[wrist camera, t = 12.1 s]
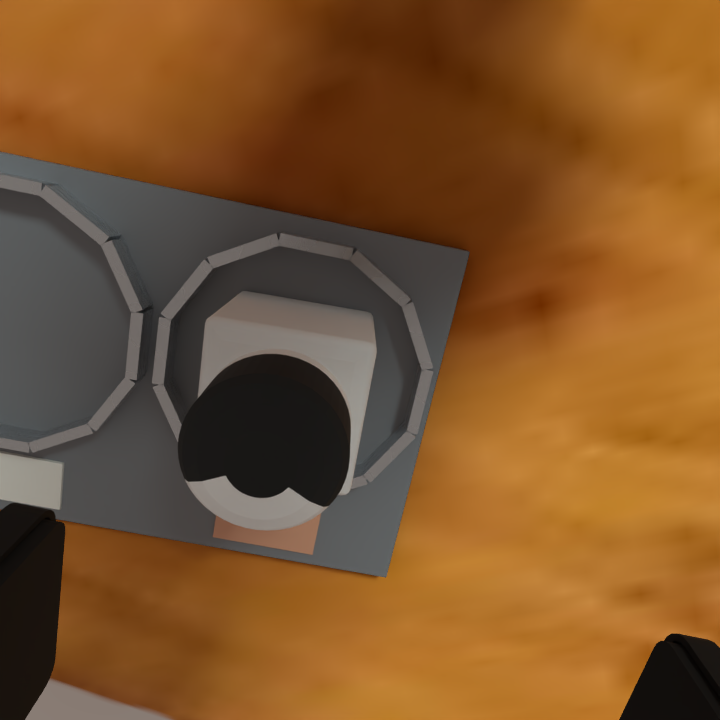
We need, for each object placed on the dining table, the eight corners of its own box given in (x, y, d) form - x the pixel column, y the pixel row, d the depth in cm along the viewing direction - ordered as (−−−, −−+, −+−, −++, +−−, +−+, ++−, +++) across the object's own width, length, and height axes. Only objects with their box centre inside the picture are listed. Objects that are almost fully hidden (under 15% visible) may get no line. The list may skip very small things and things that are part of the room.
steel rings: (-126, 145, 27) (-153, 142, 26) (454, 266, 29) (459, 270, 28) (-118, 411, 31) (-141, 421, 30) (393, 505, 33) (395, 519, 31)
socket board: (-123, 125, 28) (-143, 122, 27) (466, 250, 30) (470, 252, 29) (-112, 478, 34) (-129, 488, 32) (385, 567, 35) (386, 579, 34)
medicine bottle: (240, 288, 29) (162, 347, 18) (374, 311, 30) (383, 383, 18) (225, 414, 31) (147, 540, 20) (351, 434, 32) (347, 569, 20)
